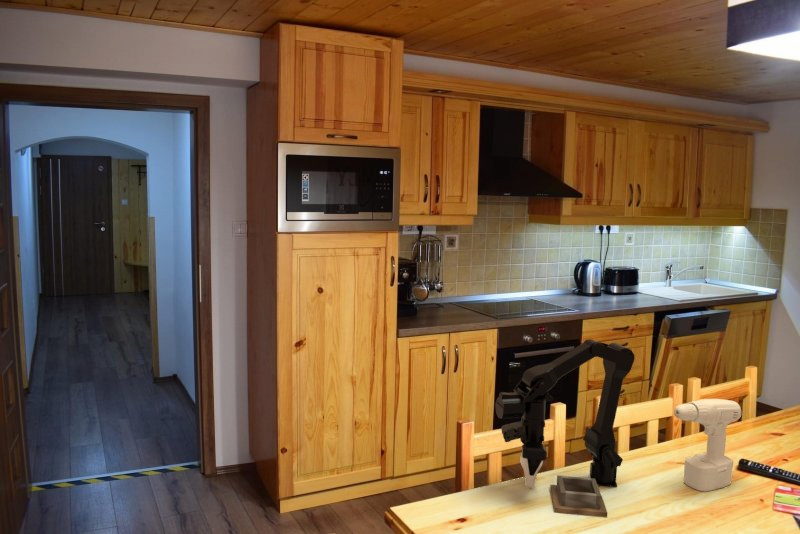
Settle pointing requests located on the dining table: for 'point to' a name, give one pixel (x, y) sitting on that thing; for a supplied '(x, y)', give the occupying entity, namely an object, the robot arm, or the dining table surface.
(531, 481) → the lightbulb
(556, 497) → the lamp socket
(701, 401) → the power drill
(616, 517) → the dining table surface
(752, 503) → the dining table surface
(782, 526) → the dining table surface
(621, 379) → the robot arm
